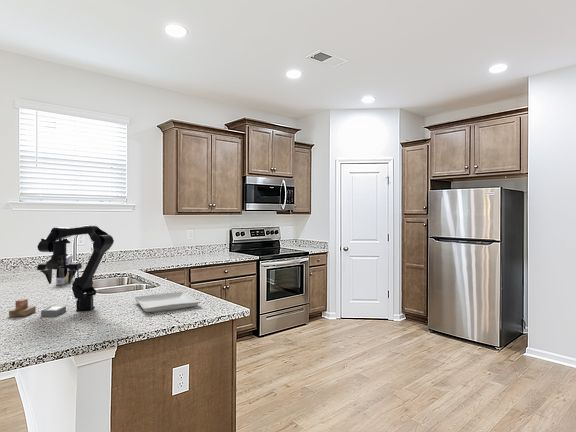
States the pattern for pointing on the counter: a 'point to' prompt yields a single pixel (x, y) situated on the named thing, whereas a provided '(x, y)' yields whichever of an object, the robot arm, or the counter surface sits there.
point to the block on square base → (22, 308)
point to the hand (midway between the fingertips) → (59, 283)
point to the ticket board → (53, 311)
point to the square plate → (166, 301)
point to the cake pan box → (63, 272)
